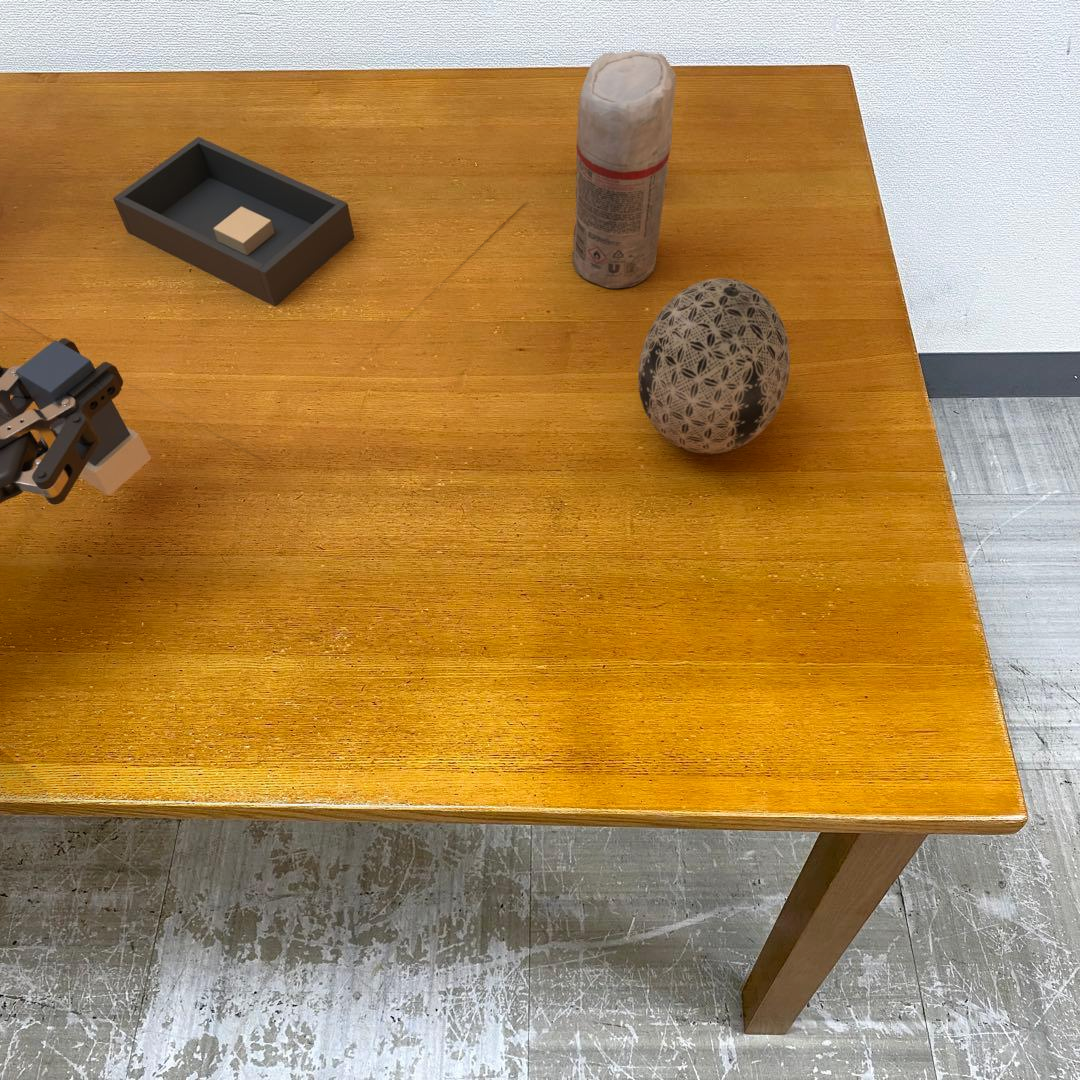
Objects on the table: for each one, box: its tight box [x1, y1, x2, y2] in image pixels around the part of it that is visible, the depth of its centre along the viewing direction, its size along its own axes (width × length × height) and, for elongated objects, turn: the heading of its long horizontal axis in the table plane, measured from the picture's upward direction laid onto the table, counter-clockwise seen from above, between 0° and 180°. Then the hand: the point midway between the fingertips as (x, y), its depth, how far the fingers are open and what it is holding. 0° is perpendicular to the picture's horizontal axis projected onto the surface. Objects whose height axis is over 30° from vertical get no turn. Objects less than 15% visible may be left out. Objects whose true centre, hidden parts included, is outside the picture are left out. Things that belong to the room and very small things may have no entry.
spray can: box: [571, 49, 677, 289], centre depth 89 cm, size 8×8×20 cm
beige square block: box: [213, 206, 275, 255], centre depth 99 cm, size 4×4×2 cm
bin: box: [112, 136, 355, 307], centre depth 99 cm, size 20×12×5 cm, turn 56°
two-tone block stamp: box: [15, 339, 152, 496], centre depth 74 cm, size 4×4×11 cm
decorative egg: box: [637, 277, 791, 455], centre depth 80 cm, size 12×12×15 cm
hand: (94, 360), depth 72 cm, fingers closed on two-tone block stamp, 3 cm apart
